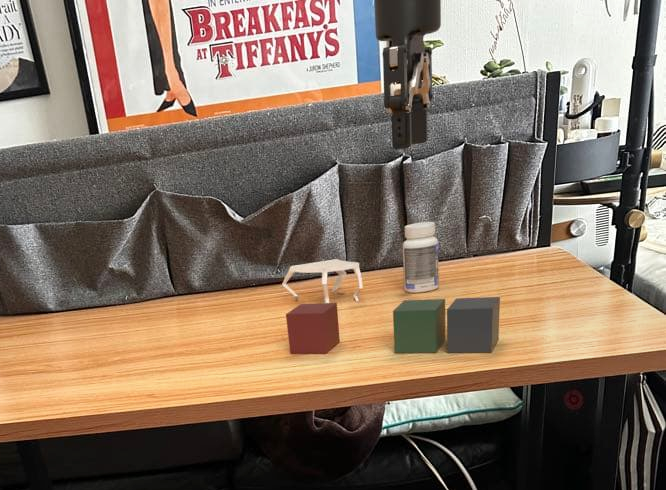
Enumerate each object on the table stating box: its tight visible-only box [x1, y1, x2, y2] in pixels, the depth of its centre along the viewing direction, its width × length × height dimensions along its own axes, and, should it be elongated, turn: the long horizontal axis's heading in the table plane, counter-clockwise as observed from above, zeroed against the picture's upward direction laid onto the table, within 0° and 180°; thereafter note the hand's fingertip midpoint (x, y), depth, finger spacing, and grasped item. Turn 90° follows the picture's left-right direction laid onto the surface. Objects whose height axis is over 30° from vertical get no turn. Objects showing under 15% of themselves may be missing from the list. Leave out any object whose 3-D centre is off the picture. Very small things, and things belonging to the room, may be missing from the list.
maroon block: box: [285, 302, 341, 355], centre depth 81 cm, size 4×4×4 cm
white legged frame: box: [281, 258, 364, 303], centre depth 101 cm, size 12×8×5 cm
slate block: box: [446, 296, 501, 354], centre depth 73 cm, size 4×4×4 cm
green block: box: [392, 298, 446, 354], centre depth 76 cm, size 4×4×4 cm
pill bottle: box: [401, 221, 440, 294], centre depth 98 cm, size 5×5×8 cm
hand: (410, 146), depth 91 cm, fingers open, 8 cm apart
